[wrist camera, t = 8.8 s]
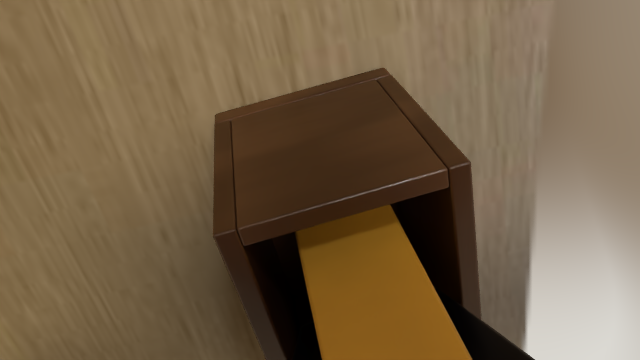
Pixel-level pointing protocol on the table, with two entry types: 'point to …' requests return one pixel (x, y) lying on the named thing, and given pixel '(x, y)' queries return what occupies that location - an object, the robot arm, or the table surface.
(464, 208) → the holder
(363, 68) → the table surface
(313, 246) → the block
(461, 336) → the robot arm
